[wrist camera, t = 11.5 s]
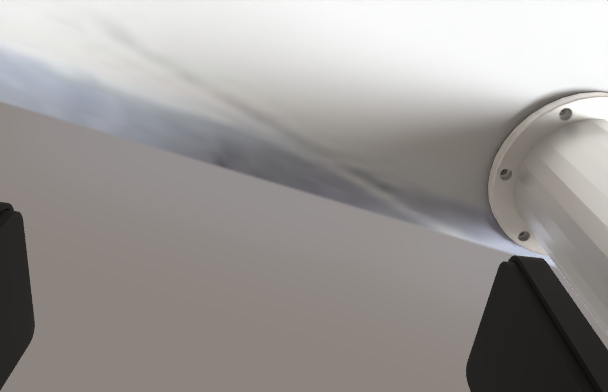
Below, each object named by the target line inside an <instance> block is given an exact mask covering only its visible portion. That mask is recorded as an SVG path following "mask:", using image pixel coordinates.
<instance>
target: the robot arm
mask: <svg viewBox="0 0 608 392" xmlns="http://www.w3.org/2000/svg"><path fill="white" fill-rule="evenodd" d="M561 110H563V111H562V112H561ZM560 112H561V113H560ZM504 169H505V170H504ZM503 170H504V171H503ZM501 171H503V172H501ZM488 195H489V203H490V206H491V209H492V212H493V215H494V217H495V218H496V220H497V222H498V224H499V225H500V227H501V228H502V229H503V231H504V232H505V233H506V234H507V236H508V237H509V238H510V239H512V240H513V241H514V242H515V243H516V244H518V245H520V246H522V247H524V248H526V249H528V250H529V251H532V252H535V253H539V254H543V255H548V256H549V257H550V258H551V259H552V261H553V262H554V263H555V265H556V266H557V268H558V269H559V270H560V272H561V273H562V274H563V276H564V277H565V279H566V280H567V281H568V283H569V284H570V285H571V287H572V288H573V289H574V291H575V292H576V294H577V295H578V296H579V298H580V299H581V300H582V302H583V303H584V304H585V306H586V307H587V308H588V310H589V311H590V313H591V314H592V315H593V317H594V318H595V320H596V321H597V322H598V323H599V325H600V326H601V328H602V329H603V331H604V332H605V333H606V335H607V336H608V93H603V92H591V93H579V94H575V95H572V96H568V97H564V98H561V99H558V100H556V101H554V102H552V103H549V104H547V105H545V106H543V107H542V108H540V109H539V110H537V111H535V112H534V113H532V114H531V115H529V116H528V117H527V118H526V119H525V120H523V121H522V122H521V123H520V124H519V125H518V126H517V127H516V128H515V129H514V130H513V131H512V132H511V134H510V135H509V136H508V137H507V138H506V140H505V141H504V142H503V144H502V146H501V147H500V149H499V151H498V153H497V155H496V156H495V159H494V162H493V165H492V168H491V170H490V175H489V183H488ZM34 324H35V322H34V313H33V304H32V295H31V286H30V278H29V269H28V260H27V251H26V243H25V233H24V225H23V218H22V215H21V213H20V212H16V211H14V209H13V207H12V205H11V204H9V203H3V202H0V390H1V388H2V387H3V385H4V384H5V382H6V380H7V379H8V377H9V376H10V374H11V372H12V371H13V369H14V368H15V366H16V364H17V363H18V361H19V360H20V358H21V356H22V355H23V353H24V352H25V350H26V349H27V347H28V345H29V344H30V341H31V340H32V337H33V333H34V327H35V325H34ZM466 376H467V382H468V385H469V388H470V391H471V392H608V350H607V348H606V347H605V345H604V344H603V343H602V341H601V340H600V338H599V337H598V335H597V334H596V333H595V331H594V330H593V329H592V327H591V325H590V324H589V323H588V321H587V320H586V318H585V317H584V316H583V314H582V313H581V311H580V310H579V308H578V307H577V305H576V304H575V302H574V301H573V299H572V298H571V297H570V295H569V294H568V293H567V291H566V290H565V288H564V287H563V285H562V284H561V282H560V281H559V279H558V278H557V277H556V275H555V274H554V272H553V271H552V269H551V268H550V266H549V265H548V264H547V262H546V261H545V260H544V259H542V258H535V257H525V256H515V255H514V256H512V257H511V258H510V259H509V261H508V262H502V263H501V264H500V266H499V268H498V271H497V274H496V277H495V280H494V283H493V286H492V289H491V292H490V295H489V298H488V301H487V304H486V307H485V310H484V313H483V316H482V319H481V322H480V326H479V328H478V332H477V335H476V338H475V341H474V344H473V347H472V350H471V353H470V356H469V359H468V362H467V367H466Z"/></svg>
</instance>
